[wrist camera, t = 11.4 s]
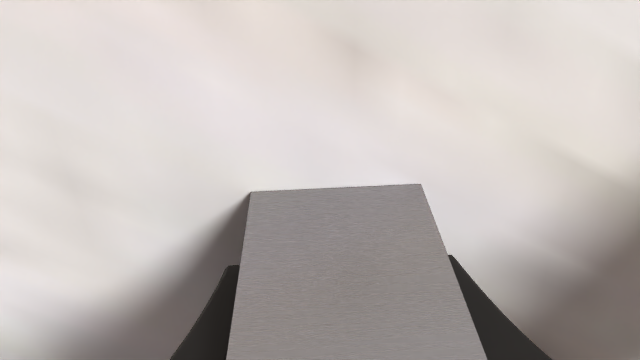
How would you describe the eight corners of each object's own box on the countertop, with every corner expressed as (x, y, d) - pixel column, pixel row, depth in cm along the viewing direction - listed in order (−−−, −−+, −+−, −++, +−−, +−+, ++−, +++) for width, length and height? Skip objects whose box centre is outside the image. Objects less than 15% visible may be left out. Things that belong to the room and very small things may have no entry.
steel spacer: (266, 312, 16) (250, 526, 11) (251, 192, 13) (221, 392, 8) (410, 305, 16) (463, 514, 11) (420, 184, 14) (494, 378, 8)
